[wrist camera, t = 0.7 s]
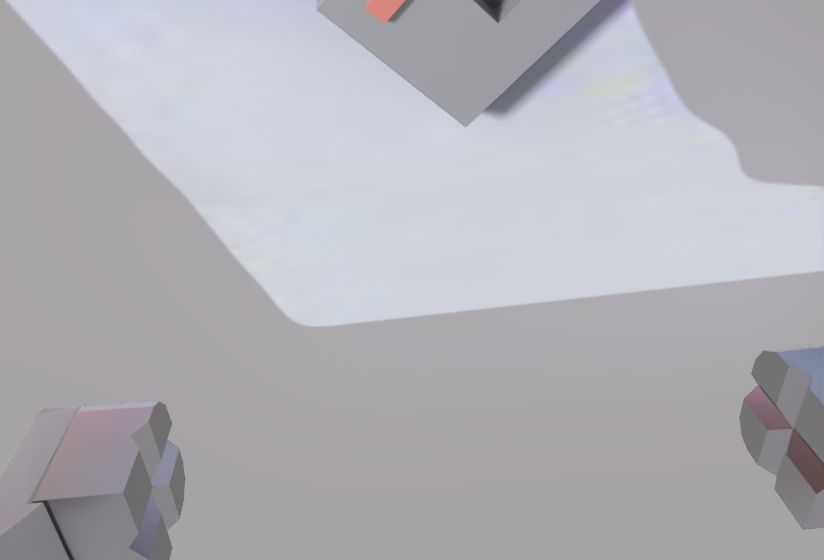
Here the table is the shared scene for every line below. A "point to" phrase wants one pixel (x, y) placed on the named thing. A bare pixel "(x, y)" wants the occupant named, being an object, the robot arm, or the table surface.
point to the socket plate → (457, 42)
